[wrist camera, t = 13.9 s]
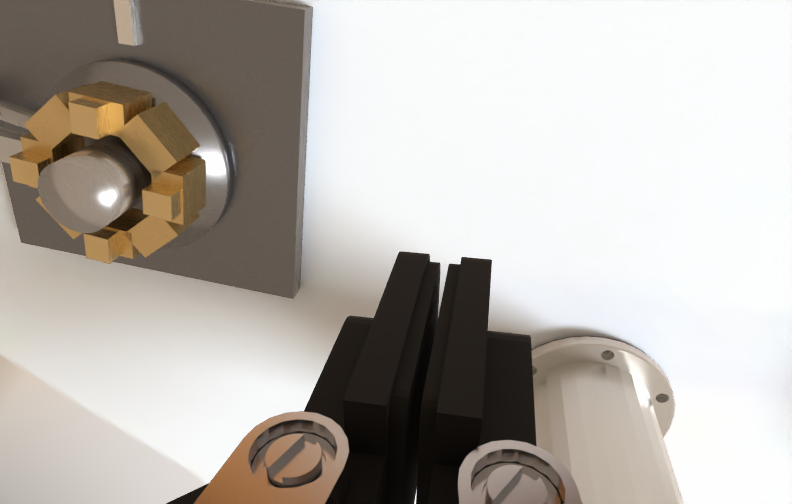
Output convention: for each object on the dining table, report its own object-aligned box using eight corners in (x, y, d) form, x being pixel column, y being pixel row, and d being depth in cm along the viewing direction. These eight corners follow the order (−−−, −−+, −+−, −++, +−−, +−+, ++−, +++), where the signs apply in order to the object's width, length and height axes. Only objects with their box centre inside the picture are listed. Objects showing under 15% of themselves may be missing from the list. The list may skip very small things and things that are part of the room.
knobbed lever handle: (209, 104, 34) (170, 125, 31) (207, 248, 40) (174, 281, 36) (-98, 32, 36) (-171, 43, 32) (-61, 181, 41) (-120, 206, 37)
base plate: (299, 287, 43) (257, 359, 36) (35, 233, 45) (-57, 290, 38) (312, 7, 33) (257, 25, 26) (-28, -47, 35) (-169, -45, 28)
